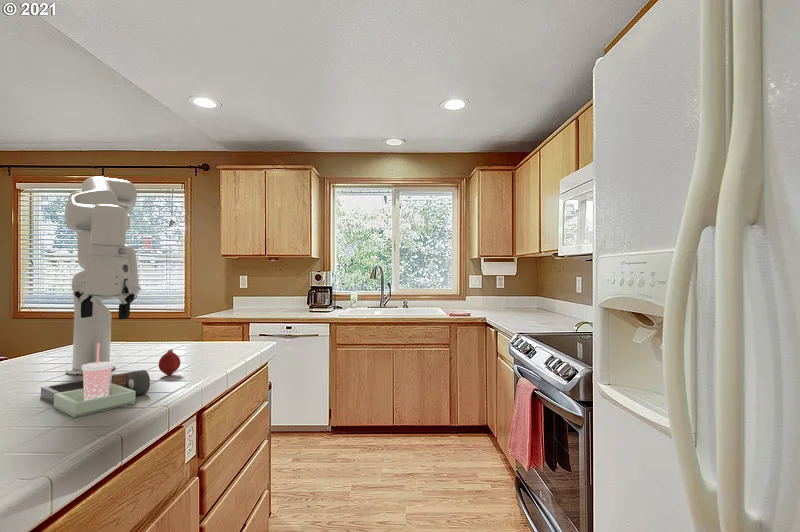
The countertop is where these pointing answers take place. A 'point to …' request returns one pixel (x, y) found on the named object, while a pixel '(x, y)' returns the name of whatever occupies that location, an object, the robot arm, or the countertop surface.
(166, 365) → the onion
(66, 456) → the countertop surface
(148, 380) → the caster wheel
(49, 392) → the socket ring
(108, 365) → the beverage cup
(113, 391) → the tray
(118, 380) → the block
